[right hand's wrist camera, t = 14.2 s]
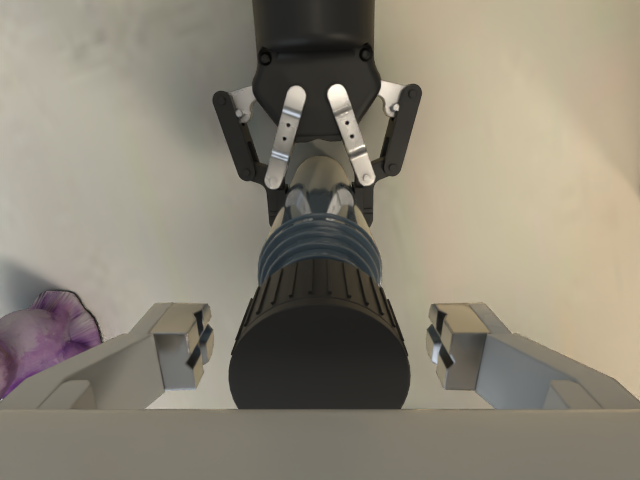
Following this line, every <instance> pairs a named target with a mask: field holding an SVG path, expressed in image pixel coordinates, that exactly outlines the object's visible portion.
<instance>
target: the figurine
mask: <svg viewBox="0 0 640 480" xmlns="http://www.w3.org/2000/svg"><path fill="white" fill-rule="evenodd" d="M99 344H101V340H100V336H99V332H98V328H97V326H96V323H95V321H94V318H92V317H91V315H90V314H89V313H88V312H87V311H86V310H85V309H84V308H83V306H82V305H81V303H80V302H79V299H78V298H77V297H76V296H75V295H74V294H73V293H70V292H66V291H65V292H64V291H63V292H62V291H51V290H50V291H46V292H43V293H41V294H39V295H38V297H37V298H36V300H35V301H34V303H33V304H32V305H31V306H30V307H29V308H28V309H25V310H19V311H16V312H12V313H9V314H7V315H5V316H4V317H2V318H1V319H0V400H1V399H4V398H5V397H6V396H7V395H8V394H9V393H10V392H11V391H13V390H14V389H15V388H16V387H17V386H18V385H19V384H20V383H22V382H23V381H24V380H25V379H26V378H28V377H31V376H33V375H35V374H37V373H39V372H41V371H43V370H46V369H48V368H50V367H52V366H54V365H56V364H58V363H61V362H63V361H65V360H67V359H69V358H71V357H74V356H76V355H78V354H80V353H82V352H84V351H86V350H89V349H91V348H93V347H95V346H97V345H99Z"/></svg>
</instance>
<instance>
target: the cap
mask: <svg viewBox="0 0 640 480" xmlns="http://www.w3.org/2000/svg"><path fill="white" fill-rule="evenodd" d="M235 340H236V342H235V344H234V347H233V350H232V352H231V355H232V358H231V360H230V366H229V385H230V391H231V394H232V397H233V400H234V402H235V404H236V406H237V408H238V409H401V408H402V406H403V404H404V402H405V400H406V397H407V395H408V390H409V386H410V376H411V375H410V365H409V361H408V358H407V356H408V353H407V350H406V347H405V345H404V342H403V341H404V339H403V336H402V333H401V331H400V328H399V325H398V323H397V320H396V317H395V314H394V312H393V309H392V306H391V304H390V301H389V299H386V296H385V293H384V291H383V288H382V287H379V286H378V284H377V283H376V282H375V281H374V279H373V277H372V276H371V277H370V276H369V275H367V274H366V273H365V272H363V271H362V270H361V269H360V268H356V267H354V266H352V265H350V264H347V263H346V262H341V261H336V260H331V259H309V260H302V261H299V262H297V261H296V262H294V263H292V264H290V265H287V266H285V267H283V268H282V267H281V268H280V269H279V270H278V271H276V272H275V273H273V274H272V275H271V276H268V277H267V279H266V280H265V281H264V282H263V283H262V285H261V286H260V287H259V286H258V287H257V290H256V292H255V295H254V298H253V299H252V298H251V300H250V302H249V305H248V307H247V310H246V313H245V315H244V318H243V320H242V323H241V326H240V328H239V331H238V334H237V336H236V339H235Z"/></svg>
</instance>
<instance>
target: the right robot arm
mask: <svg viewBox="0 0 640 480" xmlns="http://www.w3.org/2000/svg"><path fill="white" fill-rule="evenodd" d="M210 318H211V311H210V306H209V305H208V304H206V303H156V304H154V305H153V306H152V307H151V308H150V309H149V311H148V312H147V313H146V314H145V315H144V316H143V317H142V319H141V320H140V321H139V322H138V323H137V324H136V325H135V326H134V328H133V329H132V330H131V331H130V332H129V333H128V334H121V335H119V336H117V337H114V338H112V339H110V340H108V341H106V342H104V343H101V344H99V345H97V346H95V347H93V348H91V349H89V350H86V351H84V352H82V353H80V354H78V355H76V356H74V357H71V358H69V359H67V360H65V361H63V362H61V363H58V364H56V365H54V366H52V367H50V368H48V369H46V370H43V371H41V372H39V373H37V374H35V375H33V376H31V377H28V378H26V379H25V380H24V381H23V382H22V383H20V384H19V385H18V386H17V387H16V388H15V389H14V390H13V391H11V392H10V393H9V394H8V395H7V396H6V397H5V398H4V399H3V400H1V401H0V480H640V401H639V400H638V399H637V398H635V397H634V396H633V395H632V394H631V393H630V392H629V391H628V390H626V389H625V388H624V387H623V386H622V385H621V384H620V383H619V382H618V381H616V380H615V379H614V378H611V377H609V376H607V375H605V374H603V373H601V372H599V371H596V370H594V369H592V368H590V367H588V366H586V365H584V364H581V363H579V362H577V361H575V360H573V359H571V358H569V357H566V356H564V355H562V354H560V353H558V352H556V351H554V350H551V349H549V348H547V347H545V346H543V345H541V344H539V343H536V342H534V341H532V340H530V339H528V338H526V337H524V336H521V335H519V334H512V333H511V332H510V331H509V330H508V329H507V328H506V326H505V325H504V324H503V323H502V322H501V321H500V320H499V318H498V317H497V316H496V315H495V314H494V313H493V312H492V311H491V309H490V308H489V307H488V306H487V305H486V304H484V303H448V304H431V307H430V310H429V318H430V320H431V322H432V324H431V326H430V327H429V328H428V329H427V334H426V345H427V351H428V355H429V357H430V360H431V361H432V362H433V363H434V364H436V365H437V369H436V373H437V375H438V378H439V380H440V382H441V384H442V386H443V388H444V390H475V392H476V393H477V394H478V395H480V396H481V397H482V398H483V399H484V400H486V401H487V402H488V403H489V404H490V405H492V406H493V407H494V408H495V409H145V408H146V407H147V406H149V405H150V404H151V403H152V402H153V401H155V400H156V399H157V398H158V397H159V396H161V395H162V394H163V393H164V392H165V390H196V389H197V386H198V384H199V382H200V380H201V378H202V375H203V373H204V369H203V365H204V364H206V363H207V362H208V361H209V360H210V357H211V355H212V351H213V346H214V333H213V329H212V328H211V327H210V326H209V324H208V322H209V320H210Z"/></svg>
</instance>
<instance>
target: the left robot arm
mask: <svg viewBox="0 0 640 480" xmlns="http://www.w3.org/2000/svg"><path fill="white" fill-rule="evenodd" d="M252 2H253V14H254V25H255V36H256V48H257V60H258V64H257V70H256V74H255V76H254V79H253V82H252V85H251V86H248V87H245V88H242V89H238V90H235V91H232V92H224V91H218V92H216V93H215V94H214V96H213V105H214V107H215V110H216V113H217V116H218V119H219V121H220V124H221V127H222V130H223V133H224V135H225V138H226V141H227V144H228V147H229V150H230V152H231V155H232V158H233V161H234V164H235V166H236V169H237V172H238V175H239V177H240V178H241V179H242V180H244V181H253V182H256V183H259V184H261V185H263V186H264V187H265V189H266V192H267V201H268V211H269V223H270V226H271V227H272V225H273V223H274V220H275V218H276V216H277V213H278V211H279V209H280V207H281V204H282V202H283V200H284V198H285V195H286V193H287V191H288V184H285V175H286V172H287V168H288V165H289V162H290V158H291V155H292V152H293V149H294V146H295V142H296V143H299V142H309V141H312V140H315V139H322V140H327V141H341V140H342V142H343V144H344V147H345V150H346V152H347V154H348V157H349V160H350V162H351V165H352V168H353V170H354V173H355V182H352V190H353V192H354V194H355V197H356V199H357V201H358V204H359V206H360V208H361V211H362V213H363V215H364V218H365V220H366V222H367V225H368V227H370V226H371V224H372V221H373V188H374V185H375V183H376V182H377V181H378V180H380V179H383V178H385V177H388V176H396V175H397V174H399V172H400V171H401V168H402V164H403V160H404V157H405V153H406V150H407V146H408V142H409V139H410V135H411V132H412V128H413V124H414V121H415V117H416V114H417V110H418V107H419V103H420V99H421V96H422V91H421V88H420V87H419V86H418V85H416V84H409V85H401V84H396V83H392V82H387V81H383V80H381V77H380V74H379V72H378V70H377V68H376V65H375V62H374V4H375V0H252ZM377 96H378V97H380V98H381V99H382V102H383V112H384V114H385V115H386V116H388V117H390V119H389V123H388V126H387V130H386V134H385V138H384V142H383V146H382V150H381V154H380V158H378V159H376V160H373V161H371V162H370V159H369V156H368V154H367V150H366V146H365V143H364V140H363V138H362V135H361V132H360V129H359V126H358V124H359V122H360V121H361V119H362V118H363V116H364V115H365V113H366V112H367V110H368V109H369V107H370V106H371V104H372V103H373V101H374V100H375V98H376V97H377ZM256 101H258V102H259V104H260V105H261V106H262V108H263V109H264V110H265V111H266V113H267V114H268V115H269V116H270V118H271V119H272V120H273V122H274V123H275V124H276V125H277V127H278V129H277V133H276V136H275V140H274V144H273V147H272V151H271V157H270V161H269V165H266V164H263V163H260V162H259V159H258V156H257V153H256V150H255V147H254V144H253V141H252V138H251V135H250V132H249V129H248V126H247V123H246V122H249V121H250V120H251V119H252V116H253V112H252V106H253V104H254V103H255V102H256Z"/></svg>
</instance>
